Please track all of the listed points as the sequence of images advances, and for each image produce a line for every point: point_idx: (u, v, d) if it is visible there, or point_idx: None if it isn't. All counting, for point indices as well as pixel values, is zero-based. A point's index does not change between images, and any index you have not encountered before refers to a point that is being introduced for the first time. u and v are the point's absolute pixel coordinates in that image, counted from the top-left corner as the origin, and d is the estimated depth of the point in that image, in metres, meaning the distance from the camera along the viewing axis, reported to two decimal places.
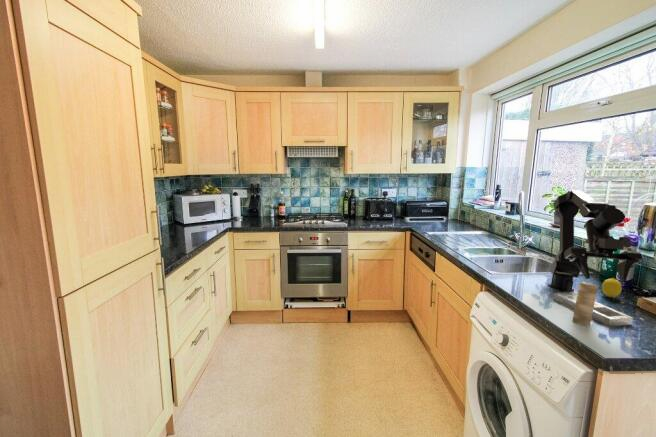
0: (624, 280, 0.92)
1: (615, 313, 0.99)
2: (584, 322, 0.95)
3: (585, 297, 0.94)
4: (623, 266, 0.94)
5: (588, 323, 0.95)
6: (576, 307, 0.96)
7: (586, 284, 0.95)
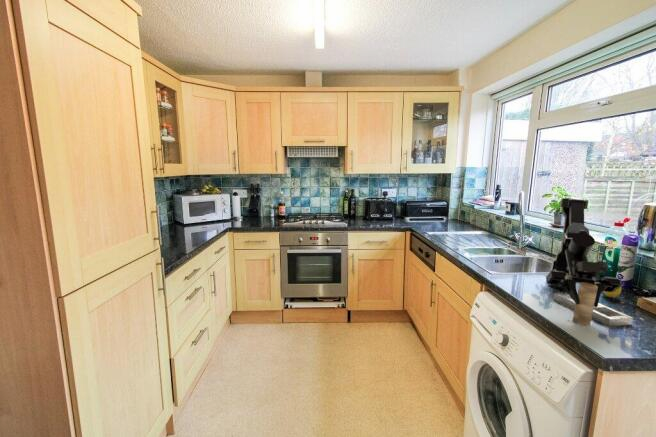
0: (596, 303, 0.93)
1: (615, 313, 0.99)
2: (584, 322, 0.95)
3: (585, 297, 0.94)
4: None
5: (588, 323, 0.95)
6: (576, 307, 0.96)
7: (586, 284, 0.95)
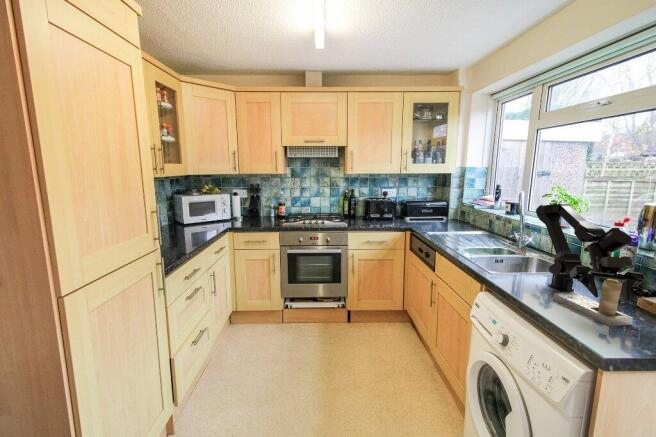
0: (627, 298, 0.96)
1: None
2: None
3: (610, 294, 0.97)
4: (625, 285, 0.98)
5: None
6: (600, 304, 0.99)
7: (610, 281, 0.98)
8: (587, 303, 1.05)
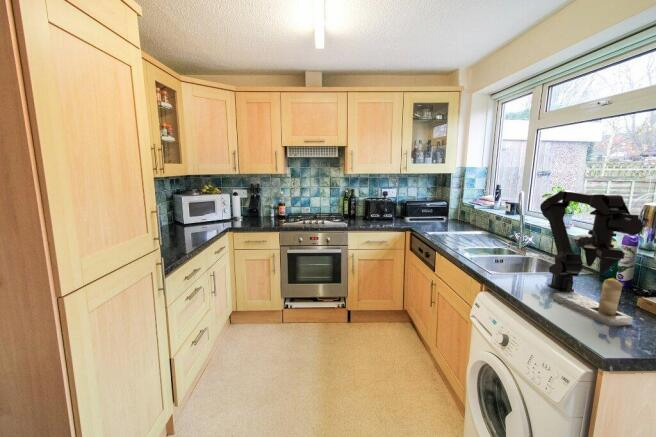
0: (599, 271, 1.05)
1: None
2: None
3: (610, 294, 0.97)
4: None
5: None
6: (600, 304, 0.99)
7: (611, 281, 0.98)
8: (587, 303, 1.05)
